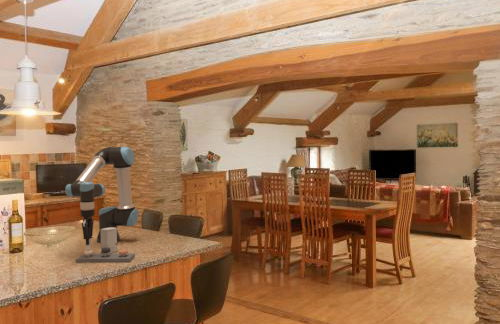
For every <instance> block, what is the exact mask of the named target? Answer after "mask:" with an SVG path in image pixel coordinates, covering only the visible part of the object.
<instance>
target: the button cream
mask: <svg viewBox="0 0 500 324" xmlns="http://www.w3.org/2000/svg"><path fill="white" fill-rule="evenodd" d="M83 254H84V255H86V257H91V254H94V250H93V249H91V250H86V249H84V250H83Z"/></svg>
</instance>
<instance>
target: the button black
mask: <svg viewBox="0 0 500 324" xmlns="http://www.w3.org/2000/svg"><path fill="white" fill-rule="evenodd" d="M101 250H102V253H101V254H104V257H108V252H110V248H108V247H107V248H102V249H101V248H100V251H101Z"/></svg>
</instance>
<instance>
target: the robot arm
mask: <svg viewBox="0 0 500 324" xmlns="http://www.w3.org/2000/svg"><path fill="white" fill-rule="evenodd" d="M134 162H135V154H134V151H133V149H132V148H130V147H129V146H107V147H104V148H102V149H100V150H99V151H98V152H96V153H95V154H94V155H93V156H92V157H91V159H90V162H89V164H88V165H87V166H85V168H84V170H83V171H82V173H80V175H79V176H78V177H77V178H76V180H75V181H74V182H73V183H68V184H66V186H65V190H64V192H65V194H66V196H67V197H72V198H75V197H76V198H78V197H80V200H79V201H80V202H79V208H80V217H82V218H83V220H82V222H81V226H82V236H83V240H85V243H84V245H85V250H92V239H93V233H94V232H93V230H94V222H95V221H94V219H93V218H92V217H94V216H95V198H96V197H97V198H98V197H101V196H103V195H104V194H105V193H106V188H105V186H104V184H102V183H94V182H92V181H93V179H94V178H95V177H96V175H98V173H99V172H100V170H102V169H103V168H104V167H105V166H107V165H112V166H113V169H114V170H116V171H115V172H116V184H117V185H116V186H117V194H118V196H117V197H118V206H107V207H103V208H100V209H99V210H98V226H99V227H98V229H99V231H98V234H97V237H96V242H97V243H100V244H101V230H100V229H104V228H110V227H111V228H117V242H119V241H121V236H120V234H119V230H118V227H134V226H136V224H137V223H138V221H139V220H138V219H139V215H140V213H139V210H138V209H137V208H136V207H135V204H134V203H133V197H132V187H131V186H132V185H131V184H132V183H131V174H130V173H131V172H130V169H131V168H132V165H133V164H134Z"/></svg>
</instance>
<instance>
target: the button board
mask: <svg viewBox="0 0 500 324" xmlns="http://www.w3.org/2000/svg"><path fill="white" fill-rule="evenodd" d="M135 258H136V254H135V252H134V253H133V252H132V253H130V252H129V253H128V254H126V257H121V255H120V254H119V253H109V254H108V257H104V253H93V254H91V257H86V255H84V253H83V254H82V255H79V256H78V257H77V258H76V259H75V263H81V264H82V262H90V263H130V262H131V261H132V260H133V259H135Z"/></svg>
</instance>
